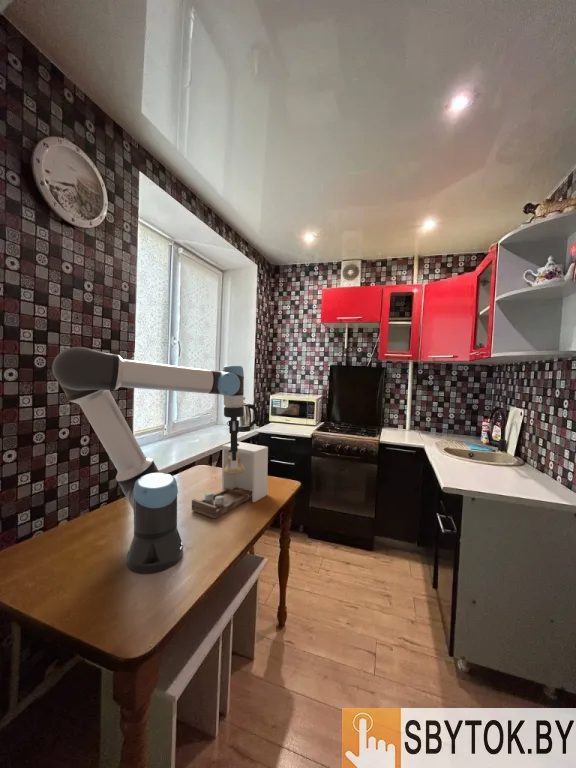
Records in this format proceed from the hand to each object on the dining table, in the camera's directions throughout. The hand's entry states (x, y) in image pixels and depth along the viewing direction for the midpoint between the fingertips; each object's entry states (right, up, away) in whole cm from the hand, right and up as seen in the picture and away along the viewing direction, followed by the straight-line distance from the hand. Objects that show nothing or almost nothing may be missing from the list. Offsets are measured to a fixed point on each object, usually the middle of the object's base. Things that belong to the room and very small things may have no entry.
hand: (234, 465), depth 121 cm
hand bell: (0, -2, 0) cm, 2 cm away
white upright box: (-4, -18, +10) cm, 21 cm away
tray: (-6, -18, +6) cm, 20 cm away
